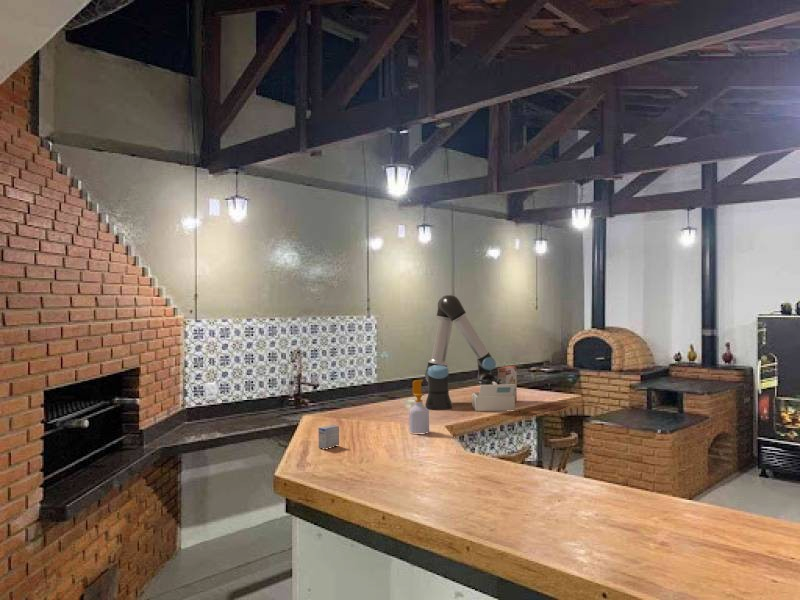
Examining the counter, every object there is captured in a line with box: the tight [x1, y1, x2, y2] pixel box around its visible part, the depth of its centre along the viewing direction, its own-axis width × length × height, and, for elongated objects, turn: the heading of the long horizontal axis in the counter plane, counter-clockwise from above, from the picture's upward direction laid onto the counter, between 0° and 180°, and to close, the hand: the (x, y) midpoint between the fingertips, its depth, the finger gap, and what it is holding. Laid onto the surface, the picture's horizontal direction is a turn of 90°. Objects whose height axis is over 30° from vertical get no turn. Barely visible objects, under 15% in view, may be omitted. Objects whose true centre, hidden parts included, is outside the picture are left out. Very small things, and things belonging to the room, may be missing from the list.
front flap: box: [479, 384, 515, 397], centre depth 311 cm, size 18×10×1 cm
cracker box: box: [497, 365, 518, 402], centre depth 342 cm, size 14×6×21 cm, turn 143°
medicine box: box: [317, 424, 340, 449], centre depth 242 cm, size 8×4×9 cm, turn 141°
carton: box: [471, 391, 516, 412], centre depth 323 cm, size 21×17×8 cm
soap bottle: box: [408, 379, 430, 433], centre depth 266 cm, size 9×9×25 cm
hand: (495, 385), depth 310 cm, fingers closed
